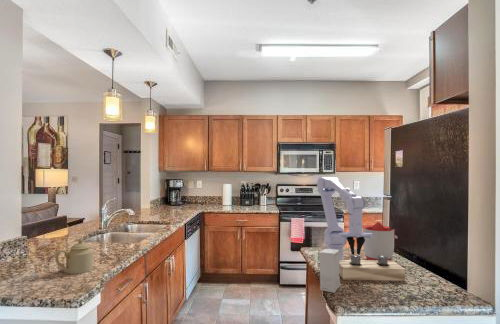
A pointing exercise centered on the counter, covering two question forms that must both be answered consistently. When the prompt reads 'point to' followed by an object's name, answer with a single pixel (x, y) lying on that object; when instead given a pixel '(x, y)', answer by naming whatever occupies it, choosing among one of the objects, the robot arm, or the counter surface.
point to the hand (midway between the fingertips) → (355, 254)
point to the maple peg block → (371, 271)
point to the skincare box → (329, 270)
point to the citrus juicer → (379, 241)
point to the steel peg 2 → (382, 260)
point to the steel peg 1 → (355, 260)
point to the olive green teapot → (77, 258)
